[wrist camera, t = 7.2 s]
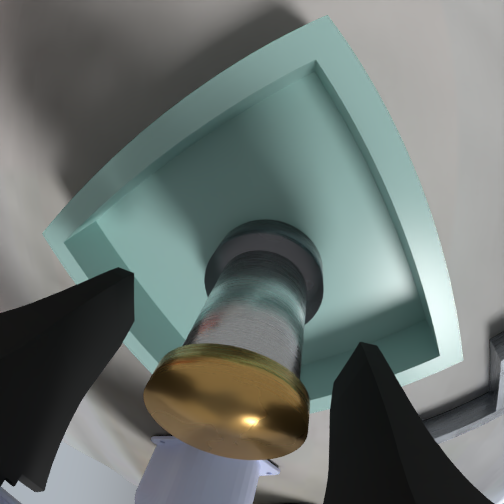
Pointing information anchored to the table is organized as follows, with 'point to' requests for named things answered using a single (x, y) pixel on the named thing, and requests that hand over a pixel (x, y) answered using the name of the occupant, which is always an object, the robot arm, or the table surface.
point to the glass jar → (245, 348)
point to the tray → (275, 210)
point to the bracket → (474, 402)
